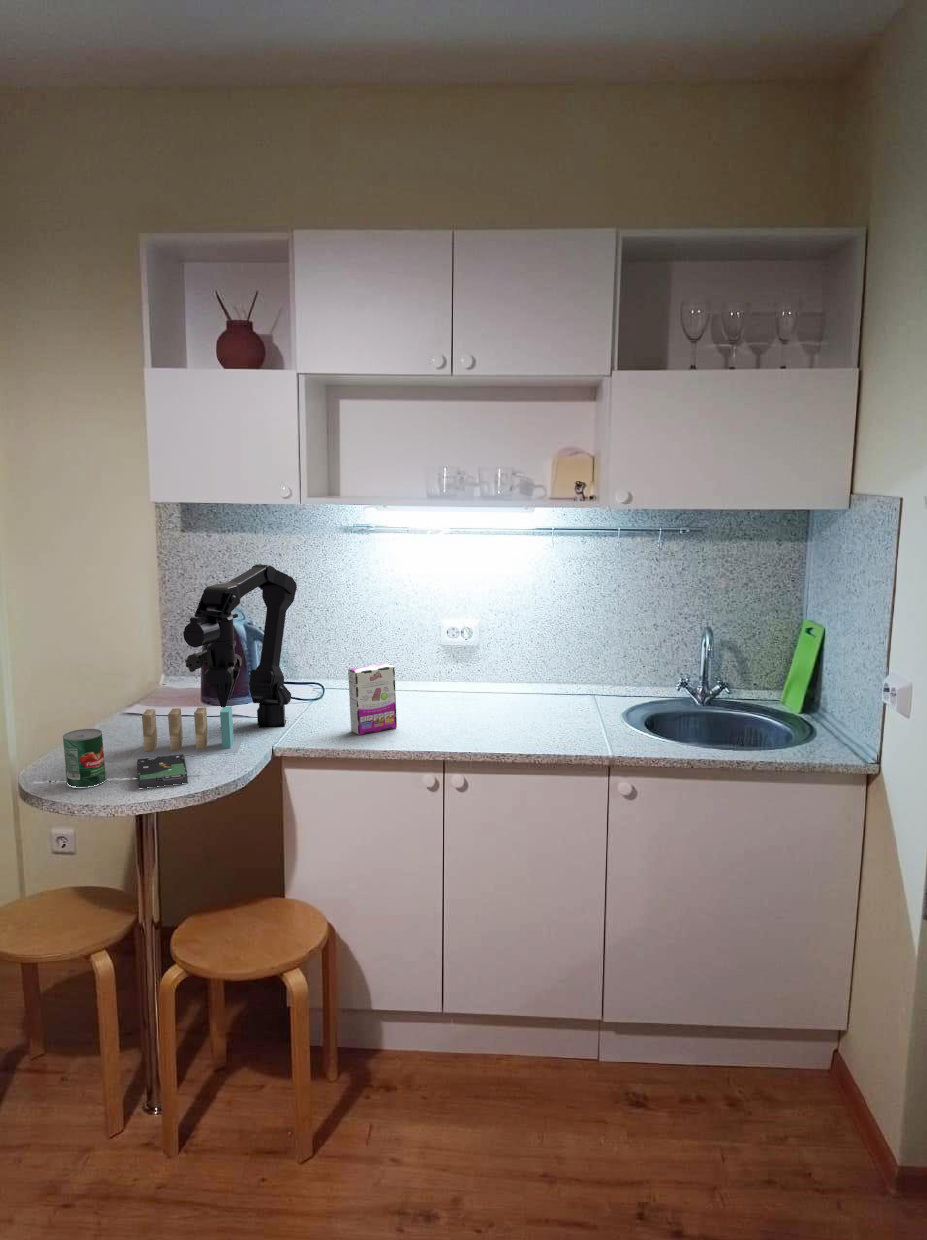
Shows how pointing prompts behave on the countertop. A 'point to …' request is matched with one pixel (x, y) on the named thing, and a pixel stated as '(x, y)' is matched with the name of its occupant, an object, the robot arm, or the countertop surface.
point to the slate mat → (189, 748)
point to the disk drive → (161, 771)
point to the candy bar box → (372, 698)
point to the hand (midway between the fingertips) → (225, 703)
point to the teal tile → (226, 727)
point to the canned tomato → (84, 757)
